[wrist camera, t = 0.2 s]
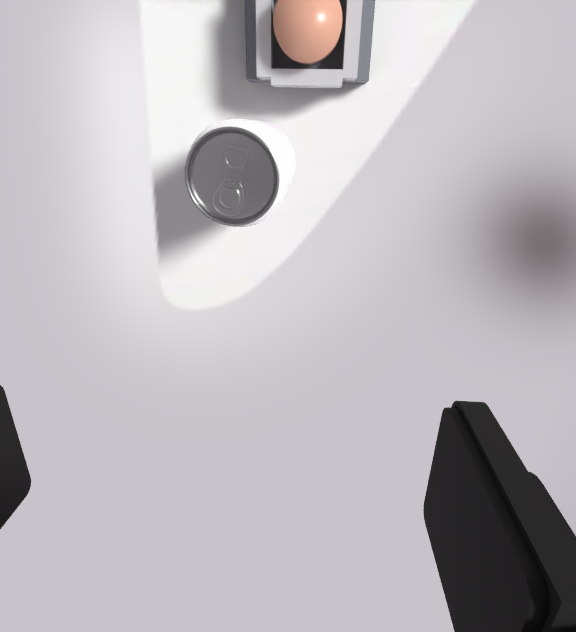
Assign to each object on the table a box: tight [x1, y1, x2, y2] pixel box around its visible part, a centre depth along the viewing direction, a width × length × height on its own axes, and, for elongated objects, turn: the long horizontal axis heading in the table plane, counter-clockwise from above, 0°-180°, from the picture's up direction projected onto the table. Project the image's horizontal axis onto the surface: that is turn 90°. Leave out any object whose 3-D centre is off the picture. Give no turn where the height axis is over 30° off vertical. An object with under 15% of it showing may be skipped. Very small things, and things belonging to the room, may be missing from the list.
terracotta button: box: [273, 0, 342, 65], centre depth 28 cm, size 4×4×2 cm
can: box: [185, 119, 295, 227], centre depth 31 cm, size 6×6×12 cm
